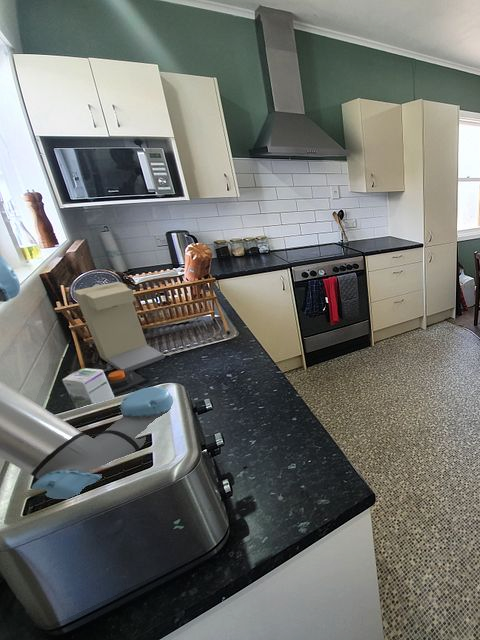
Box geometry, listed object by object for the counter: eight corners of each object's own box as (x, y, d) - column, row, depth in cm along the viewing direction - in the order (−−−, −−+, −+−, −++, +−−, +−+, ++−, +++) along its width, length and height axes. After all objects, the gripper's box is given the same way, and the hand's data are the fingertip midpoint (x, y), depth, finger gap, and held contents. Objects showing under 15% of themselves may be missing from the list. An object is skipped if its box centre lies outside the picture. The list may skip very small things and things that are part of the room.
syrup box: (122, 412, 96) (104, 368, 90) (102, 427, 91) (81, 381, 85) (103, 410, 96) (84, 366, 90) (82, 425, 91) (60, 379, 85)
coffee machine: (123, 374, 112) (95, 303, 102) (100, 358, 120) (72, 290, 110) (165, 359, 122) (143, 292, 111) (141, 344, 130) (118, 281, 119)
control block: (107, 399, 101) (103, 390, 100) (93, 387, 105) (90, 379, 104) (147, 382, 109) (144, 374, 107) (132, 372, 113) (129, 365, 112)
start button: (113, 383, 104) (111, 378, 103) (108, 379, 105) (106, 374, 105) (127, 377, 106) (125, 372, 106) (122, 373, 108) (120, 369, 107)
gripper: (77, 491, 67) (41, 446, 77) (208, 419, 87) (166, 390, 97) (62, 463, 64) (26, 420, 74) (200, 395, 84) (158, 368, 94)
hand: (105, 403), depth 85 cm, fingers open, 13 cm apart
